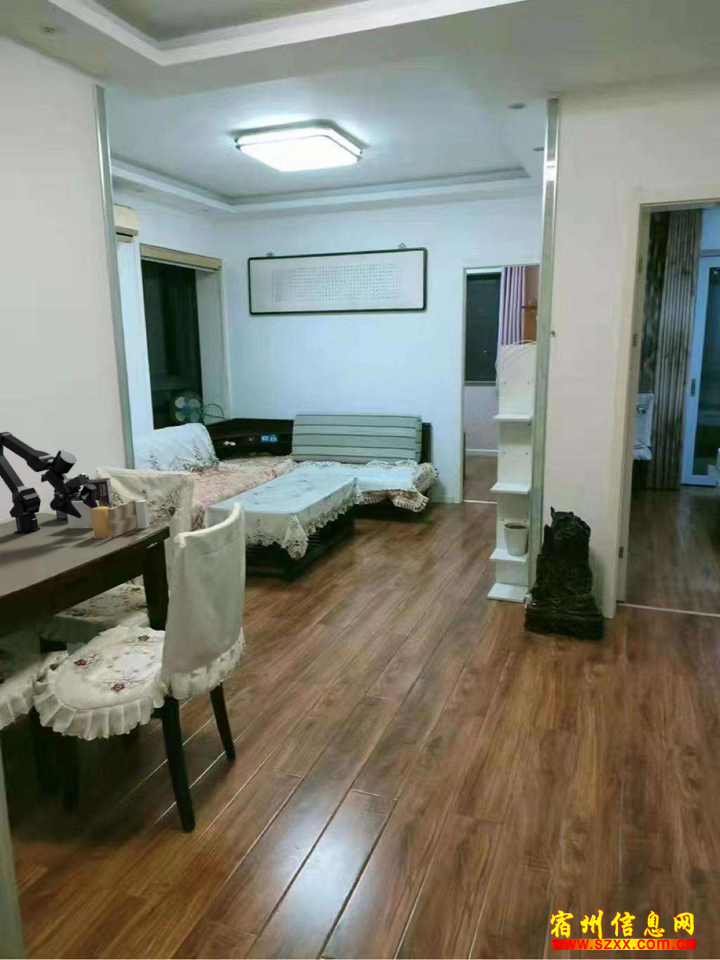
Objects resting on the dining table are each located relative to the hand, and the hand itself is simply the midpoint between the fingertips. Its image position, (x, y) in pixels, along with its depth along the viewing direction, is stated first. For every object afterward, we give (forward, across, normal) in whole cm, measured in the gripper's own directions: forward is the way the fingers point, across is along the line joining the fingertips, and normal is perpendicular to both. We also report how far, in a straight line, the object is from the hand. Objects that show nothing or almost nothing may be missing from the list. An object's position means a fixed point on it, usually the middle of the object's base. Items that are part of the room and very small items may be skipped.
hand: (89, 514), depth 235 cm
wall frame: (+5, +10, +6) cm, 13 cm away
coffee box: (-2, +18, +13) cm, 22 cm away
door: (+12, +5, -2) cm, 13 cm away
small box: (-12, +21, +24) cm, 34 cm away
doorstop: (+9, 0, +2) cm, 9 cm away
